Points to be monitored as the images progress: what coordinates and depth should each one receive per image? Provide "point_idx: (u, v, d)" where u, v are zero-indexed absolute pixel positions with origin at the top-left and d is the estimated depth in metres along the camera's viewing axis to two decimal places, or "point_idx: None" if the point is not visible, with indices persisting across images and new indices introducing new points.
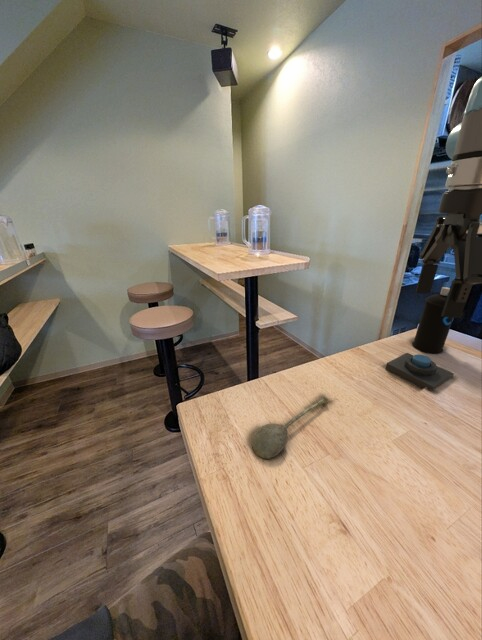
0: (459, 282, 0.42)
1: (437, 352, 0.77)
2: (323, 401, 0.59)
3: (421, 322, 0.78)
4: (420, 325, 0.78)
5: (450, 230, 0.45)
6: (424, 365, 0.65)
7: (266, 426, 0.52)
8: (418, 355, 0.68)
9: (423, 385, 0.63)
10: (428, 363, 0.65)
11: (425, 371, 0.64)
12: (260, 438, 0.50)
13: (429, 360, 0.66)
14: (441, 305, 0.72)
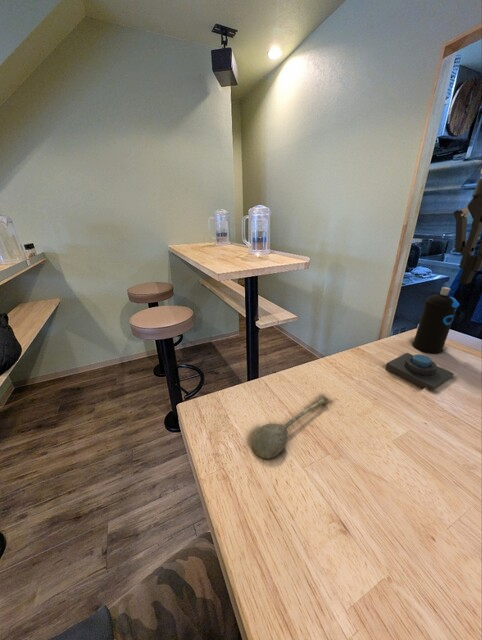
0: (479, 257, 0.58)
1: (437, 352, 0.77)
2: (323, 401, 0.59)
3: (421, 322, 0.78)
4: (420, 325, 0.78)
5: None
6: (424, 365, 0.65)
7: (266, 426, 0.52)
8: (418, 355, 0.68)
9: (423, 385, 0.63)
10: (428, 363, 0.65)
11: (425, 371, 0.64)
12: (260, 438, 0.50)
13: (429, 360, 0.66)
14: (440, 305, 0.72)
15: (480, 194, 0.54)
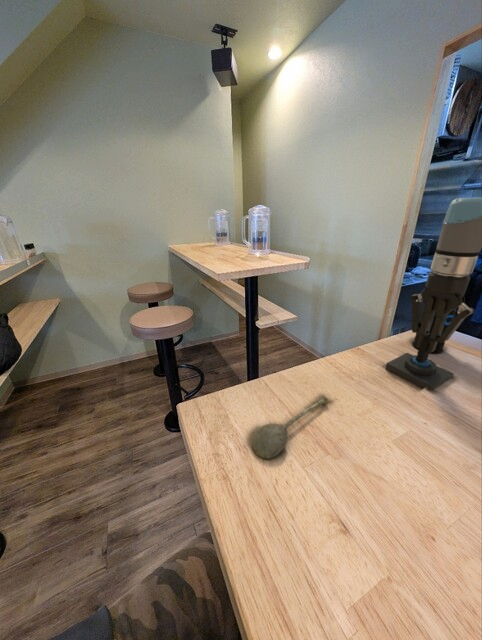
0: (432, 341, 0.62)
1: (437, 352, 0.77)
2: (323, 401, 0.59)
3: None
4: None
5: (445, 304, 0.57)
6: None
7: (266, 426, 0.52)
8: None
9: (423, 385, 0.63)
10: (427, 365, 0.65)
11: (425, 371, 0.64)
12: (260, 438, 0.50)
13: (428, 362, 0.66)
14: None
15: (430, 289, 0.58)
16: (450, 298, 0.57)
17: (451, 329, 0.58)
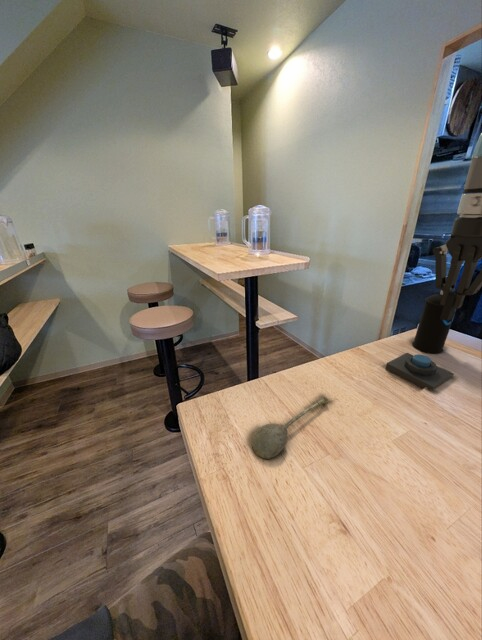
0: (459, 295, 0.58)
1: (437, 352, 0.77)
2: (323, 401, 0.59)
3: (421, 322, 0.78)
4: (420, 325, 0.78)
5: (474, 250, 0.53)
6: (424, 365, 0.65)
7: (266, 426, 0.52)
8: (418, 355, 0.68)
9: (423, 385, 0.63)
10: (428, 363, 0.65)
11: (425, 371, 0.64)
12: (260, 438, 0.50)
13: (429, 360, 0.66)
14: (440, 305, 0.72)
15: (457, 235, 0.53)
16: (480, 243, 0.52)
17: (481, 278, 0.53)
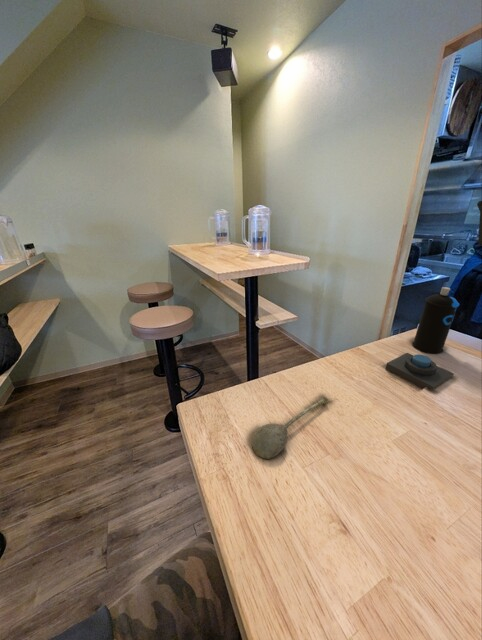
0: None
1: (437, 352, 0.77)
2: (323, 401, 0.59)
3: (421, 322, 0.78)
4: (420, 325, 0.78)
5: None
6: (424, 365, 0.65)
7: (266, 426, 0.52)
8: (418, 355, 0.68)
9: (423, 385, 0.63)
10: (428, 363, 0.65)
11: (425, 371, 0.64)
12: (260, 438, 0.50)
13: (429, 360, 0.66)
14: (440, 305, 0.72)
15: None
16: None
17: None
